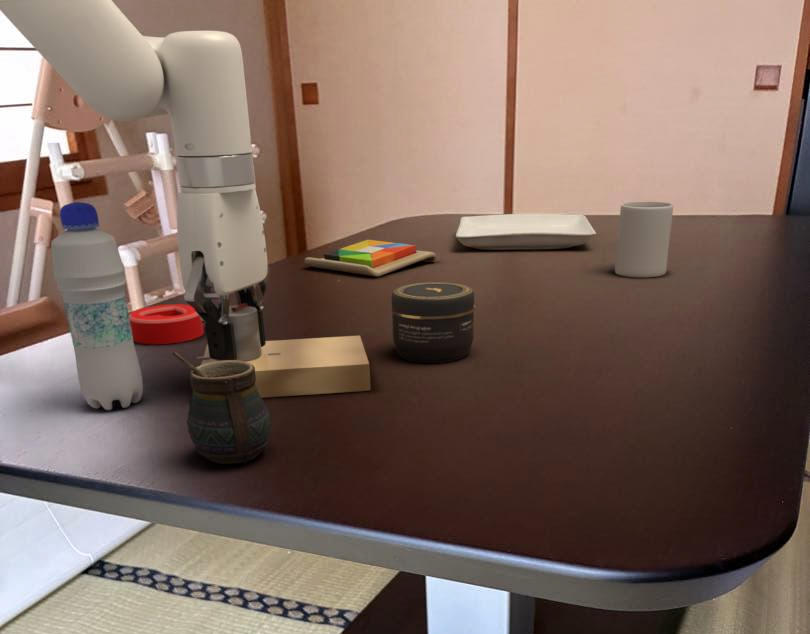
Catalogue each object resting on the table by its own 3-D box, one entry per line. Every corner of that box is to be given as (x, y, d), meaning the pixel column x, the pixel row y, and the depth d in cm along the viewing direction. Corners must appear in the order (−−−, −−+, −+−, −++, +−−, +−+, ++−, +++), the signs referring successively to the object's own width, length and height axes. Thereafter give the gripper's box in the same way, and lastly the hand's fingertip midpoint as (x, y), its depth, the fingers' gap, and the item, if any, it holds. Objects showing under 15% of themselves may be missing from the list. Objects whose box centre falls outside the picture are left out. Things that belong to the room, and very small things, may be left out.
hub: (246, 364, 90) (240, 314, 88) (207, 360, 92) (200, 311, 89) (270, 351, 94) (265, 304, 92) (232, 348, 96) (226, 301, 93)
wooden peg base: (196, 402, 89) (191, 373, 87) (205, 369, 99) (201, 343, 98) (370, 390, 91) (369, 362, 89) (361, 360, 101) (360, 334, 100)
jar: (418, 338, 109) (417, 278, 105) (487, 347, 104) (489, 285, 101) (377, 358, 101) (374, 294, 98) (450, 369, 97) (450, 302, 93)
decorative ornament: (203, 324, 119) (200, 301, 118) (204, 340, 111) (201, 316, 110) (133, 329, 118) (129, 306, 116) (129, 346, 109) (125, 322, 108)
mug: (668, 277, 139) (677, 207, 134) (616, 277, 140) (622, 207, 135) (660, 264, 150) (667, 198, 144) (611, 264, 151) (617, 199, 146)
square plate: (460, 232, 189) (461, 214, 188) (583, 231, 187) (584, 212, 185) (455, 253, 166) (455, 232, 164) (595, 251, 163) (597, 230, 161)
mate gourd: (287, 459, 74) (276, 348, 69) (204, 479, 71) (187, 363, 66) (256, 435, 80) (244, 330, 75) (178, 452, 76) (160, 343, 72)
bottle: (128, 389, 93) (92, 196, 84) (159, 402, 89) (124, 200, 80) (71, 404, 89) (26, 203, 80) (101, 418, 85) (56, 208, 75)
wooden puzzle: (302, 268, 155) (300, 249, 153) (371, 254, 167) (370, 235, 166) (371, 279, 145) (370, 258, 143) (439, 262, 157) (439, 242, 156)
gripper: (232, 167, 92) (251, 331, 101) (131, 182, 79) (163, 371, 87) (291, 167, 90) (305, 336, 98) (197, 183, 76) (223, 377, 85)
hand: (238, 350), depth 93 cm, fingers closed on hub, 5 cm apart
